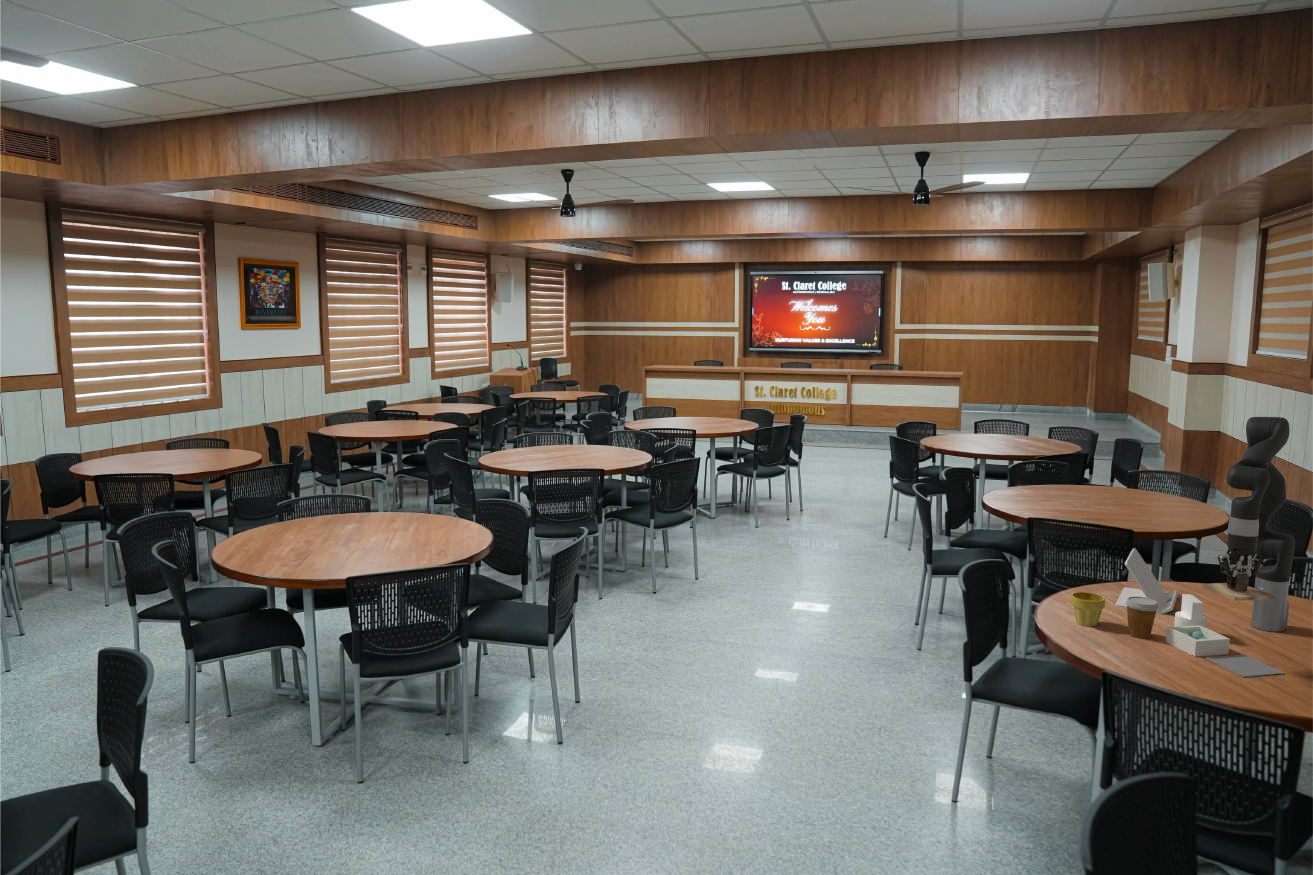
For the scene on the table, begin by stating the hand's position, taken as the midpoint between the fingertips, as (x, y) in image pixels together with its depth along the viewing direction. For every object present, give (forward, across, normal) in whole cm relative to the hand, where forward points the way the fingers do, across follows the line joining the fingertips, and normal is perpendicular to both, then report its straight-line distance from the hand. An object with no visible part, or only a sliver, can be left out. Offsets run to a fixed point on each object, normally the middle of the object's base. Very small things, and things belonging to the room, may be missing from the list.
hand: (1237, 587), depth 257 cm
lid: (+2, 0, 0) cm, 2 cm away
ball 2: (+21, -1, -14) cm, 25 cm away
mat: (+24, -2, +4) cm, 24 cm away
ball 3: (+21, +2, -8) cm, 23 cm away
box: (+24, +2, -11) cm, 26 cm away
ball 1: (+21, +4, -13) cm, 25 cm away
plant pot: (+24, +23, -37) cm, 49 cm away
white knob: (+24, -6, -24) cm, 34 cm away
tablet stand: (+24, -14, -55) cm, 61 cm away
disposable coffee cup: (+24, +12, -24) cm, 36 cm away
